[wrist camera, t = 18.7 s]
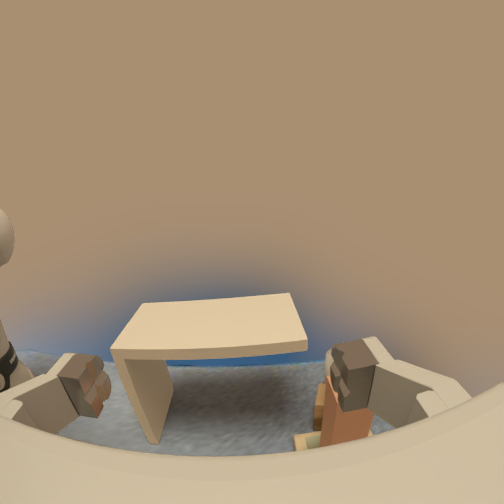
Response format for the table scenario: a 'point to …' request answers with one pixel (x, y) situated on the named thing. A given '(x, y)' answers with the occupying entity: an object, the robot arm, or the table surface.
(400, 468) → the robot arm
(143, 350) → the folded cream panel
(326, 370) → the cream cylinder
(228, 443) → the table surface
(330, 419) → the pillar
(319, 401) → the oak block
